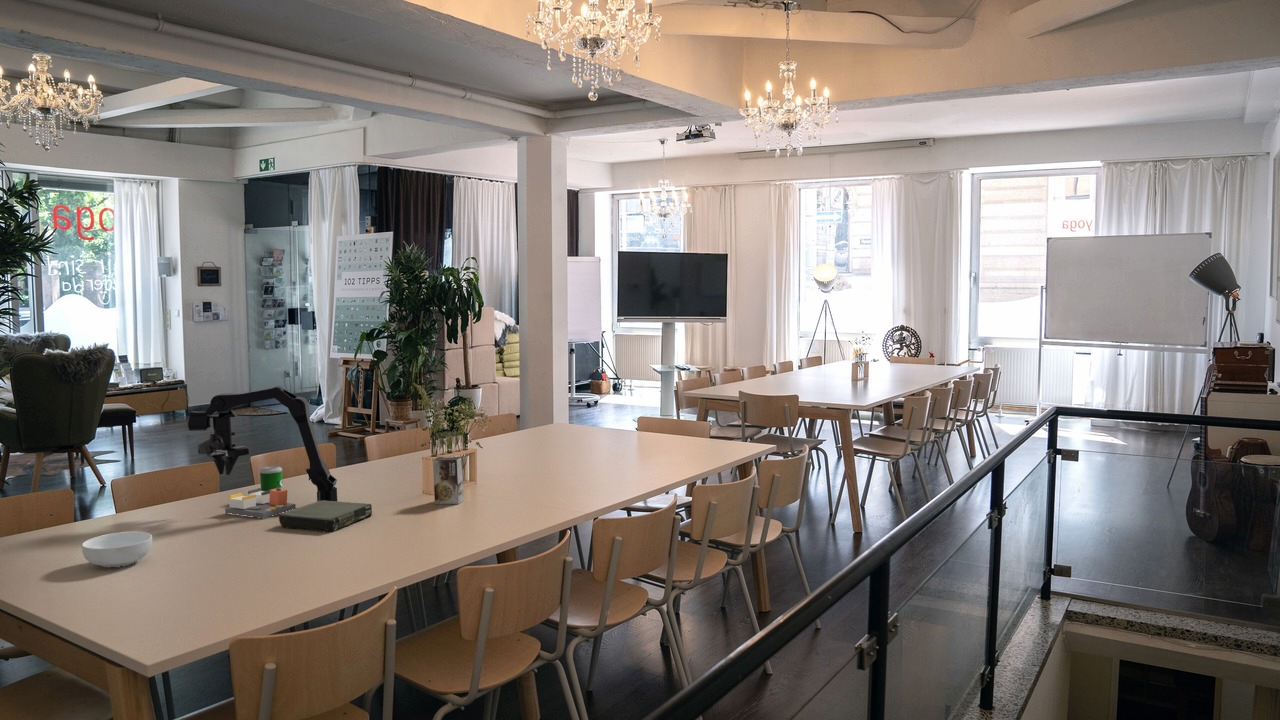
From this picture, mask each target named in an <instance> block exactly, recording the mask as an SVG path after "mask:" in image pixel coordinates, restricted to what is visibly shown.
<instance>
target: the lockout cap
mask: <svg viewBox="0 0 1280 720" xmlns="http://www.w3.org/2000/svg"><path fill="white" fill-rule="evenodd" d="M287 503H288V489H285V488H283V489H282V488H276V489H272V490H270V501H269V504H271V505H275V506H277V505H284V504H287Z"/></svg>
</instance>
